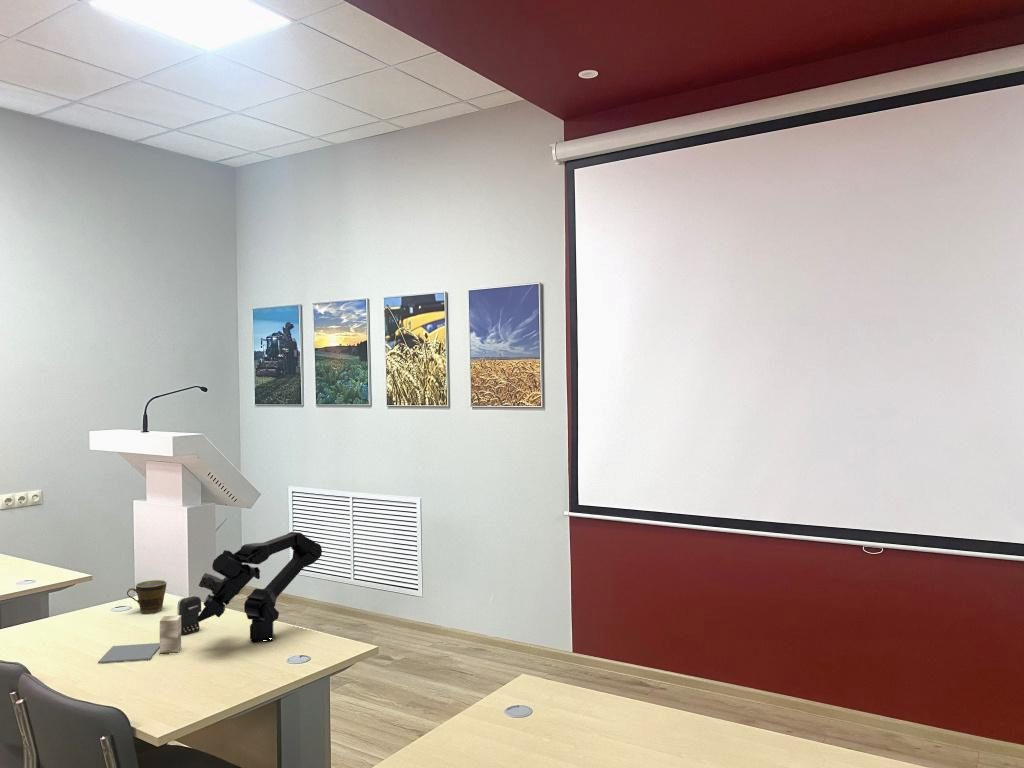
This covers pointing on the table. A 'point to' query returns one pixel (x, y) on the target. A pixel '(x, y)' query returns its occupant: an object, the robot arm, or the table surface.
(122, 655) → the mat
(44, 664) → the table surface
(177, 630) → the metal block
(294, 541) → the robot arm
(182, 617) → the battery charger
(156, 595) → the ceramic cup
